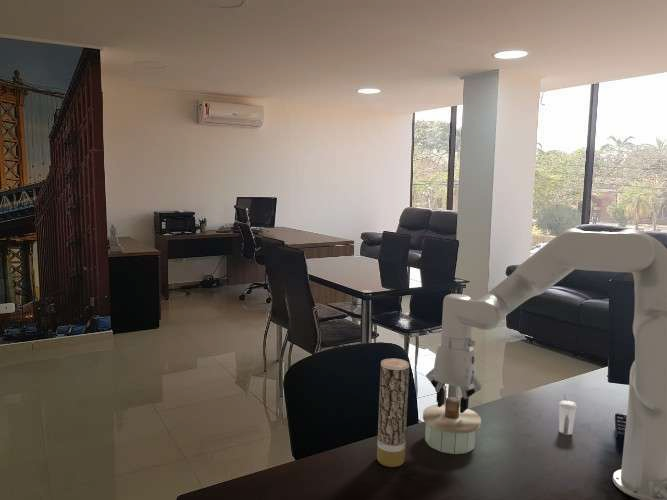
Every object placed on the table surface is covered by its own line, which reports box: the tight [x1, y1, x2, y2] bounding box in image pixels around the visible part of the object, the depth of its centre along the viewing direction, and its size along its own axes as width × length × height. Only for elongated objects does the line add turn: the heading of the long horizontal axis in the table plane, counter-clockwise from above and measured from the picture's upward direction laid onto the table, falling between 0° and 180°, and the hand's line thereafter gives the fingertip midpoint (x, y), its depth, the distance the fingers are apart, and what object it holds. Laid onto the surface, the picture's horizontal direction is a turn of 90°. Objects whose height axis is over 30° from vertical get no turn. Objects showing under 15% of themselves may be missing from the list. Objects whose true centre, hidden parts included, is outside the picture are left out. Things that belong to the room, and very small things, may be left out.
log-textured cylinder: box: [376, 358, 410, 468], centre depth 128 cm, size 7×7×25 cm
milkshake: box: [558, 393, 578, 436], centre depth 147 cm, size 4×5×10 cm
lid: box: [422, 396, 482, 433], centre depth 139 cm, size 15×15×6 cm
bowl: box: [424, 423, 477, 455], centre depth 140 cm, size 13×13×6 cm
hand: (451, 407), depth 139 cm, fingers open, 5 cm apart
